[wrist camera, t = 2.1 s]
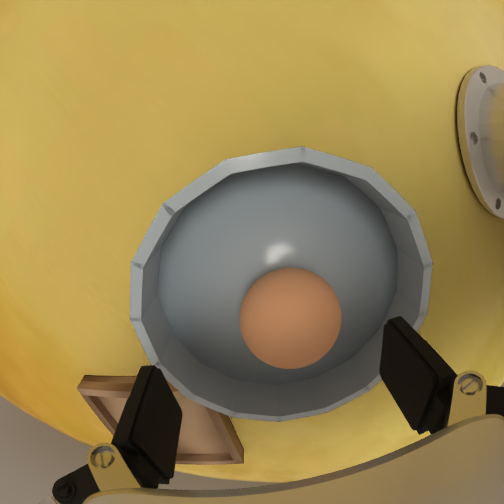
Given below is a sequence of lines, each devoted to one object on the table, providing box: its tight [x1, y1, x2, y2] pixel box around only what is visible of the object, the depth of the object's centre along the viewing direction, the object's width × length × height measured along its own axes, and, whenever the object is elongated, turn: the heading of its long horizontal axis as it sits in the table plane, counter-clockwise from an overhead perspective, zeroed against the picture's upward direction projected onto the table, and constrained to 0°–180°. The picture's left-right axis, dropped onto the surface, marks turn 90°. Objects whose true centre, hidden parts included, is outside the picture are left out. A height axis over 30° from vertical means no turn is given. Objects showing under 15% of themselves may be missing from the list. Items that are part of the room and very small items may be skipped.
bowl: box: [130, 146, 433, 422], centre depth 15 cm, size 16×16×4 cm
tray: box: [77, 375, 244, 465], centre depth 20 cm, size 12×12×2 cm
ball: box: [239, 268, 342, 369], centre depth 13 cm, size 5×5×5 cm
